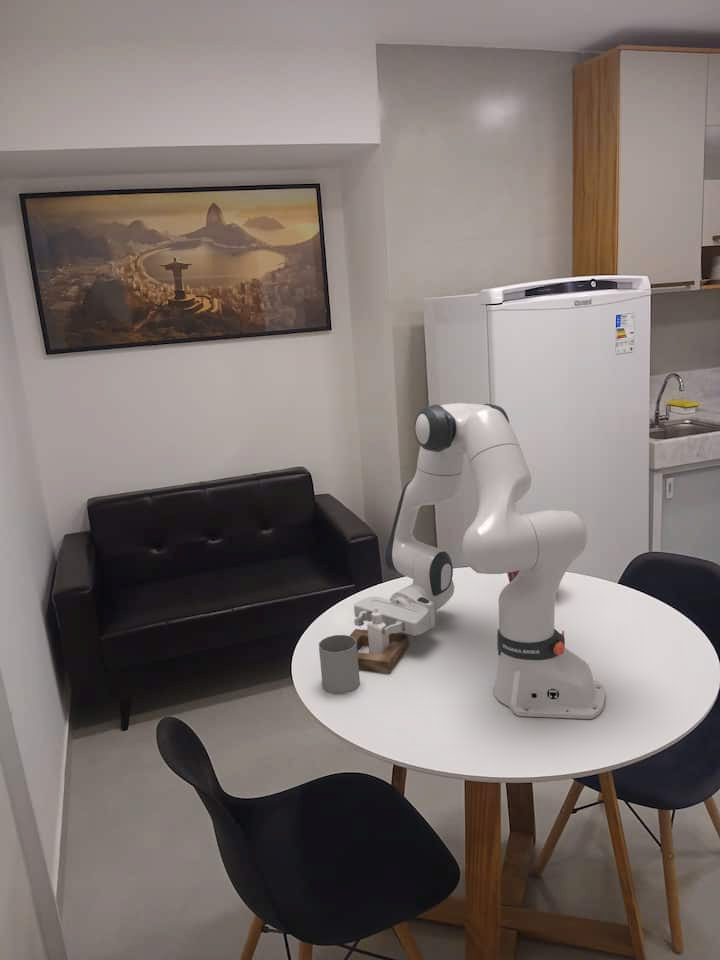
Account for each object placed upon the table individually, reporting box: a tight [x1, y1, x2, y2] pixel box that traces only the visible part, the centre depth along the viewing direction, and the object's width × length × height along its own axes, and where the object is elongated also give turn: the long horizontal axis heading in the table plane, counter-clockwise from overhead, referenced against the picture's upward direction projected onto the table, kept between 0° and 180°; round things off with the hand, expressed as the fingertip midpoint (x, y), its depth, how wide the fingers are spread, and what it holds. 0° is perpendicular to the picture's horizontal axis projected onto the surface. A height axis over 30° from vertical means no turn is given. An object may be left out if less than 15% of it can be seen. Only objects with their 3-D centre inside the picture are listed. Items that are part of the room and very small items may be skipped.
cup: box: [318, 634, 361, 695], centre depth 161 cm, size 8×8×10 cm
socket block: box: [349, 628, 410, 675], centre depth 174 cm, size 14×14×3 cm
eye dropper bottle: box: [367, 607, 389, 655], centre depth 173 cm, size 4×6×12 cm
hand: (370, 627), depth 172 cm, fingers open, 7 cm apart
